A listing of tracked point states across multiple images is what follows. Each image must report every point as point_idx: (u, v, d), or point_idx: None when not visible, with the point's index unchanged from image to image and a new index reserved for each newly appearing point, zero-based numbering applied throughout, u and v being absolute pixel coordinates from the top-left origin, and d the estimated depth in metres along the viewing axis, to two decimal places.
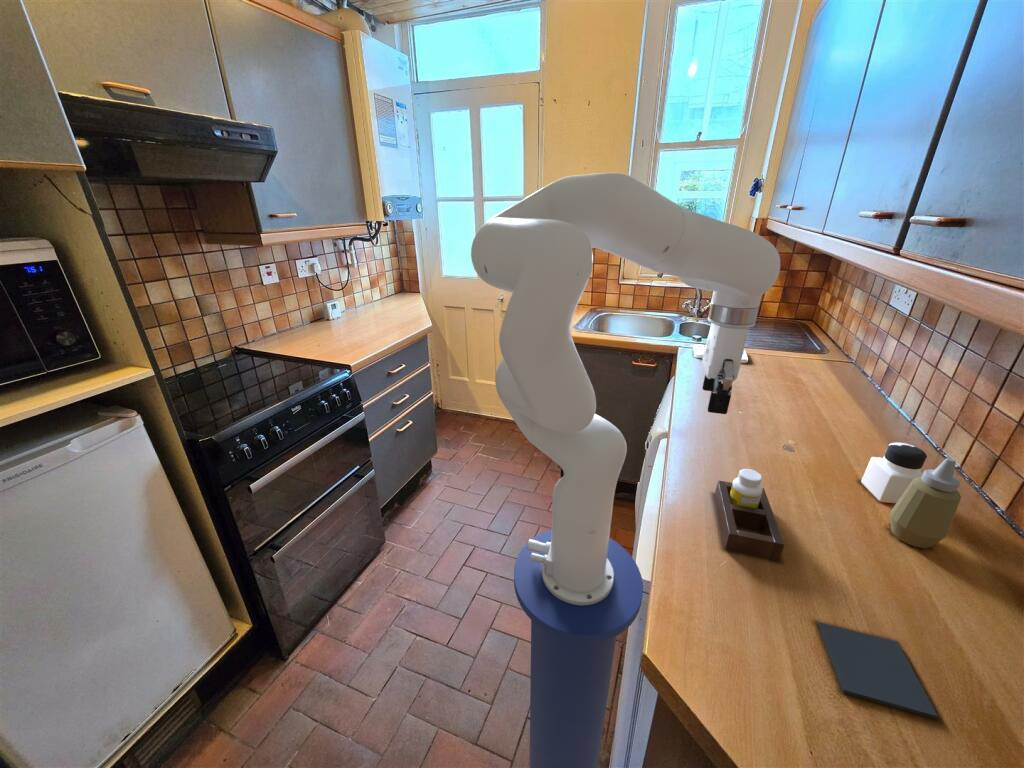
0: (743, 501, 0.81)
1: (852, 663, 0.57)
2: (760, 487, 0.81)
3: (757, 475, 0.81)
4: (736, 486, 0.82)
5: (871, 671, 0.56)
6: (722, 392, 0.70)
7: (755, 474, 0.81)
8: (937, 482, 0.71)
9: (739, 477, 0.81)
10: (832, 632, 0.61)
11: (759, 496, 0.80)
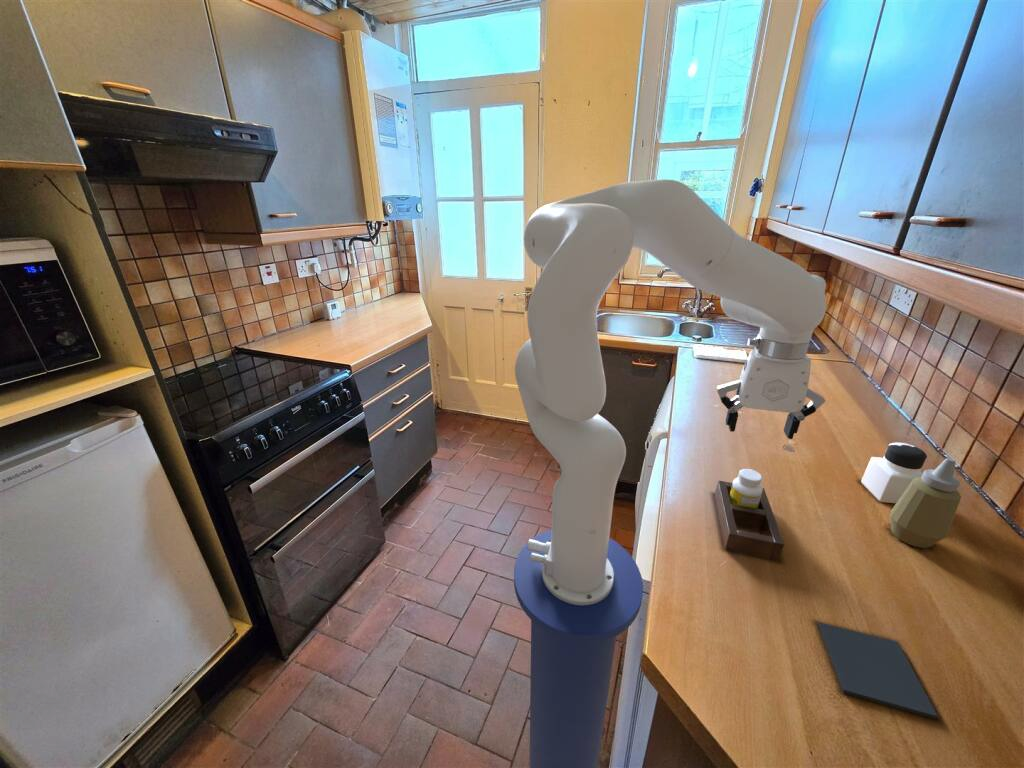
0: (743, 501, 0.81)
1: (852, 663, 0.57)
2: (760, 487, 0.81)
3: (757, 475, 0.81)
4: (736, 486, 0.82)
5: (871, 671, 0.56)
6: None
7: (755, 474, 0.81)
8: (937, 482, 0.71)
9: (739, 477, 0.81)
10: (832, 632, 0.61)
11: (759, 496, 0.80)
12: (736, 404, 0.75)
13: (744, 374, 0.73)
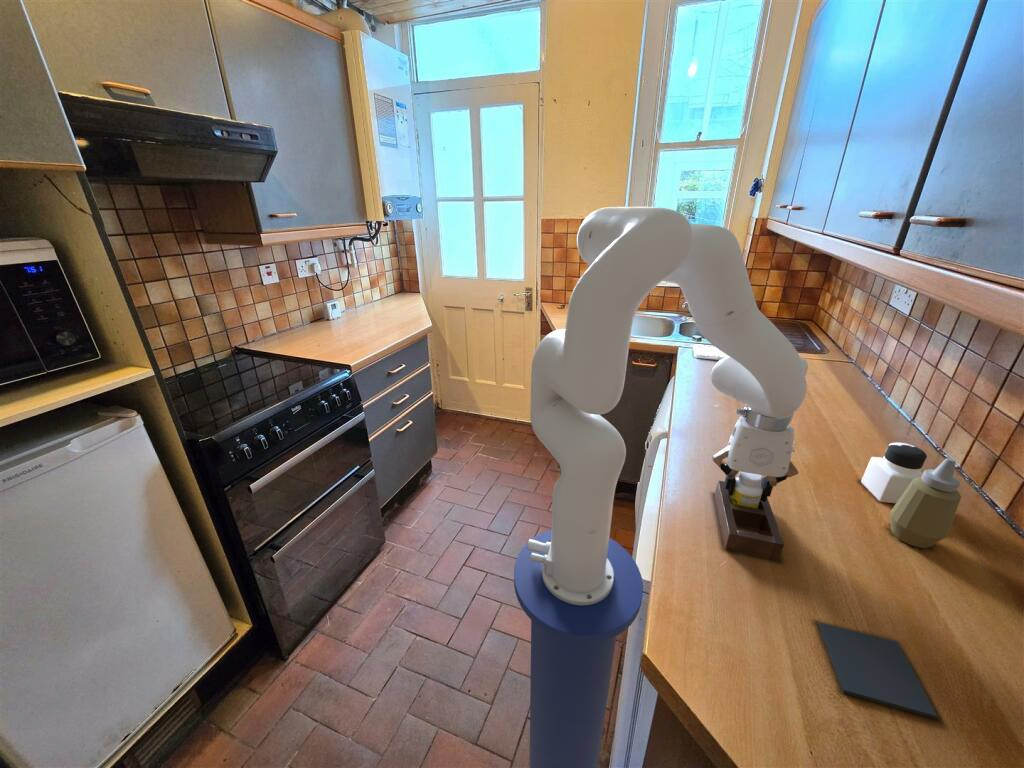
0: (743, 501, 0.81)
1: (852, 663, 0.57)
2: (760, 487, 0.81)
3: (757, 475, 0.81)
4: (736, 486, 0.82)
5: (871, 671, 0.56)
6: None
7: (755, 474, 0.81)
8: (937, 482, 0.71)
9: (739, 477, 0.81)
10: (832, 632, 0.61)
11: (759, 496, 0.80)
12: (731, 471, 0.81)
13: (733, 440, 0.78)
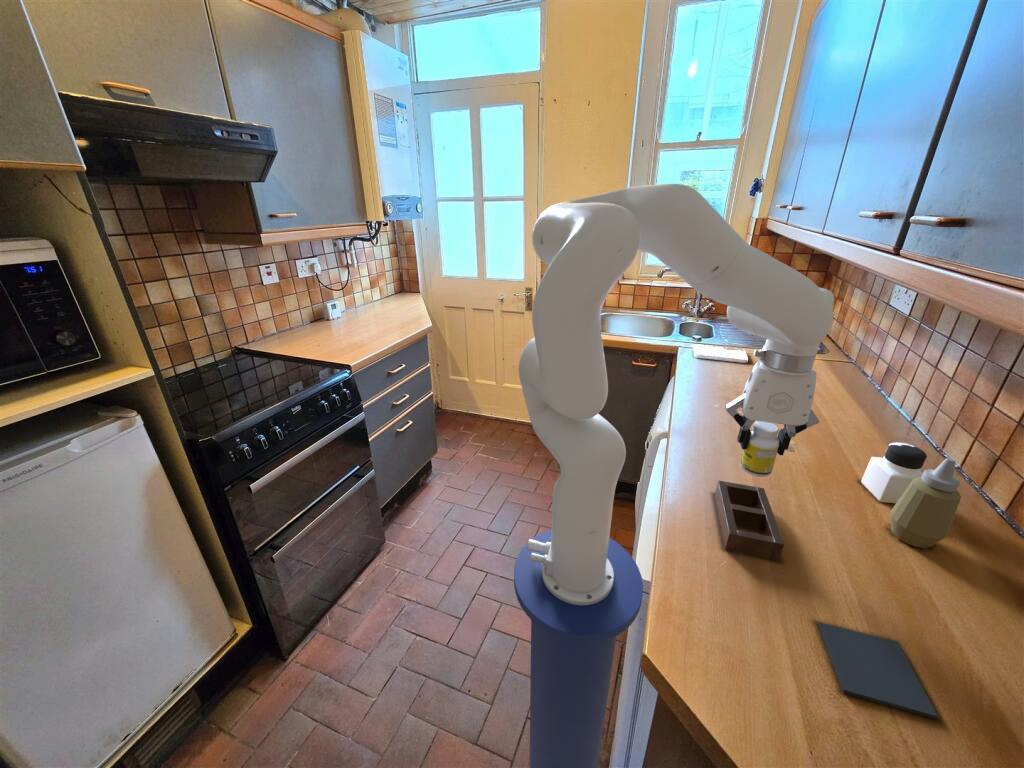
0: (758, 455, 0.75)
1: (852, 663, 0.57)
2: (777, 439, 0.75)
3: (773, 427, 0.75)
4: (750, 439, 0.76)
5: (871, 671, 0.56)
6: None
7: (771, 426, 0.75)
8: (937, 482, 0.71)
9: (754, 430, 0.76)
10: (832, 632, 0.61)
11: (776, 449, 0.75)
12: (746, 421, 0.75)
13: (749, 386, 0.72)
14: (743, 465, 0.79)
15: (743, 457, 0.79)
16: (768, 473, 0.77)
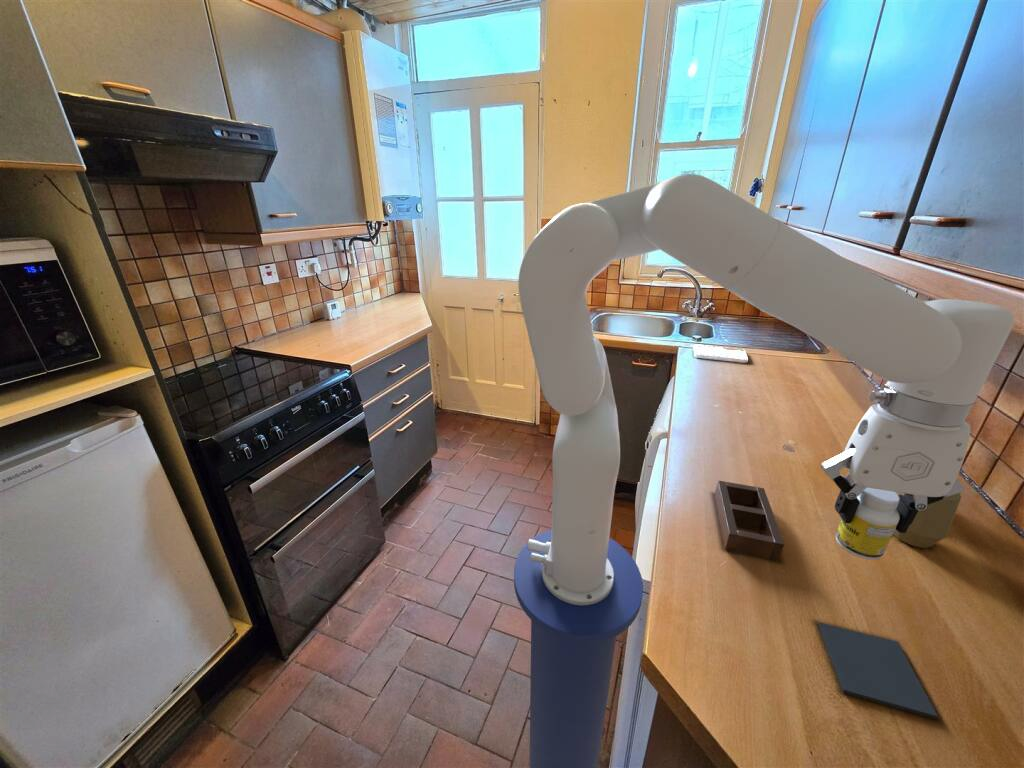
0: (870, 533, 0.54)
1: (852, 663, 0.57)
2: (896, 511, 0.54)
3: (891, 494, 0.54)
4: (857, 510, 0.55)
5: (871, 671, 0.56)
6: None
7: (887, 492, 0.54)
8: None
9: (862, 497, 0.55)
10: (832, 632, 0.61)
11: (896, 525, 0.53)
12: (854, 487, 0.54)
13: (862, 440, 0.51)
14: (844, 542, 0.57)
15: (843, 531, 0.57)
16: (881, 555, 0.56)
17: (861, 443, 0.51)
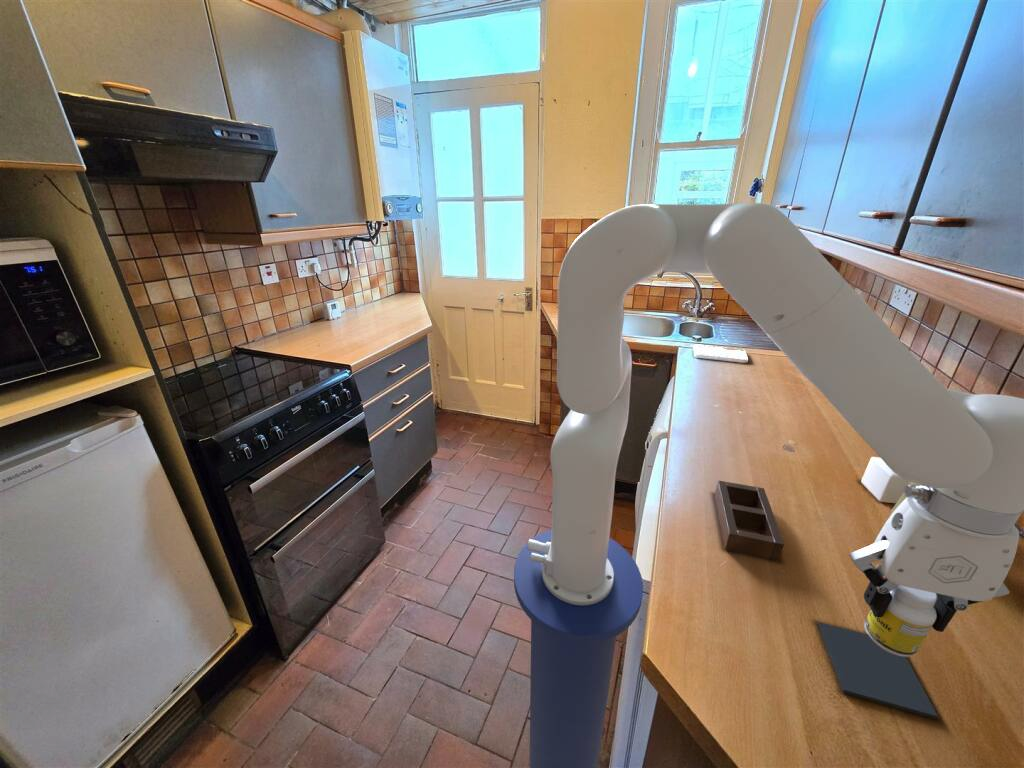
0: (904, 631, 0.50)
1: (852, 663, 0.57)
2: (933, 608, 0.50)
3: None
4: (890, 605, 0.51)
5: (871, 671, 0.56)
6: None
7: None
8: None
9: (895, 591, 0.51)
10: (832, 632, 0.61)
11: (932, 624, 0.50)
12: (886, 582, 0.50)
13: (897, 536, 0.47)
14: (874, 634, 0.54)
15: (873, 623, 0.54)
16: (915, 652, 0.52)
17: (895, 539, 0.47)
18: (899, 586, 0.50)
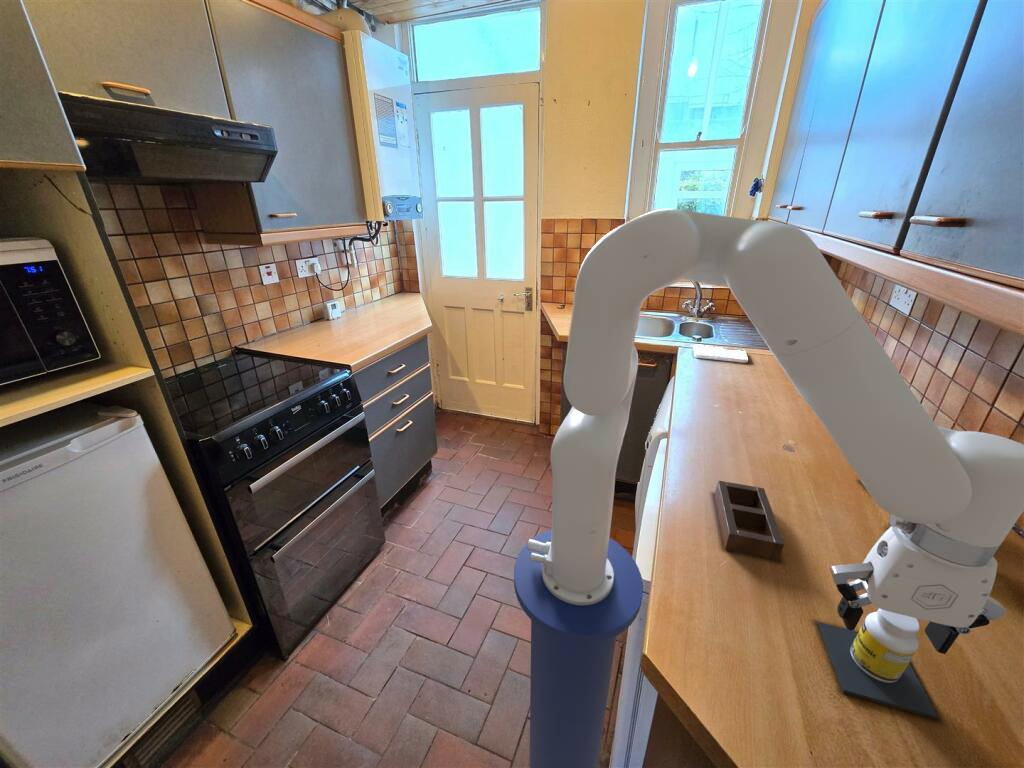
0: (888, 658, 0.53)
1: (852, 663, 0.57)
2: (915, 637, 0.52)
3: (911, 619, 0.52)
4: (875, 632, 0.53)
5: None
6: None
7: (906, 616, 0.53)
8: None
9: (881, 619, 0.53)
10: (832, 632, 0.61)
11: (915, 652, 0.52)
12: (862, 598, 0.52)
13: (882, 564, 0.49)
14: (859, 660, 0.56)
15: (858, 649, 0.56)
16: (897, 679, 0.54)
17: (880, 566, 0.49)
18: (884, 615, 0.53)
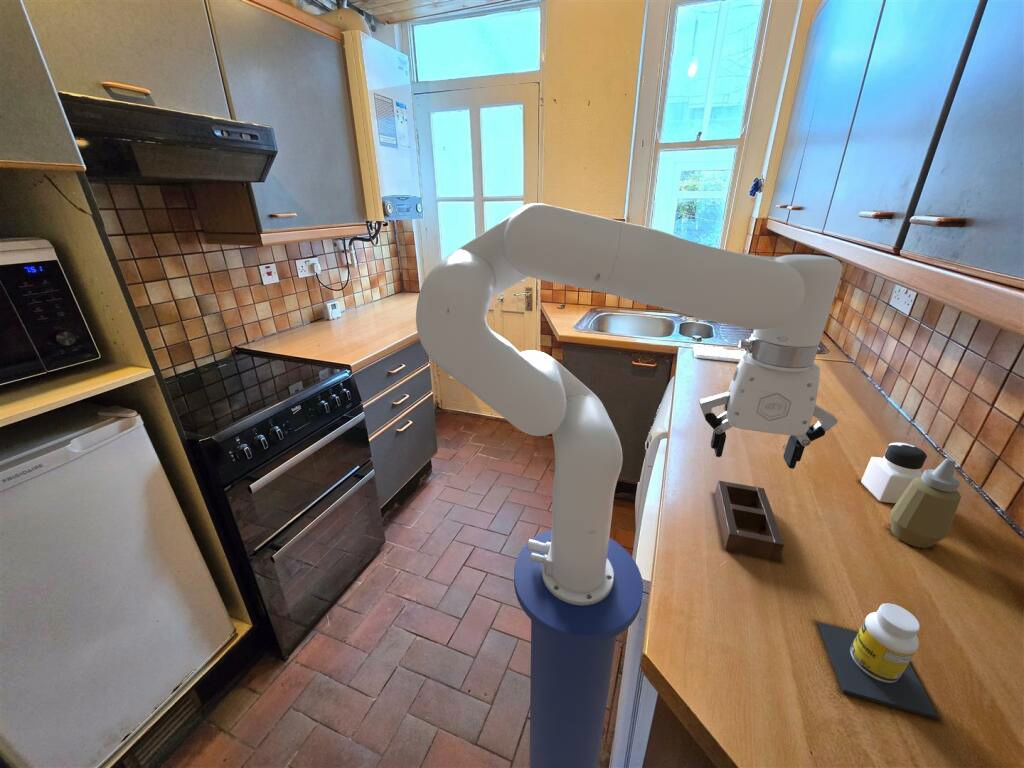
0: (888, 658, 0.53)
1: (852, 663, 0.57)
2: (915, 637, 0.52)
3: (911, 619, 0.52)
4: (875, 632, 0.53)
5: None
6: None
7: (906, 616, 0.53)
8: (937, 482, 0.71)
9: (880, 619, 0.53)
10: (832, 632, 0.61)
11: (914, 652, 0.52)
12: (723, 423, 0.59)
13: (734, 385, 0.57)
14: (859, 660, 0.56)
15: (858, 649, 0.56)
16: (897, 679, 0.54)
17: (733, 388, 0.57)
18: (884, 615, 0.53)
